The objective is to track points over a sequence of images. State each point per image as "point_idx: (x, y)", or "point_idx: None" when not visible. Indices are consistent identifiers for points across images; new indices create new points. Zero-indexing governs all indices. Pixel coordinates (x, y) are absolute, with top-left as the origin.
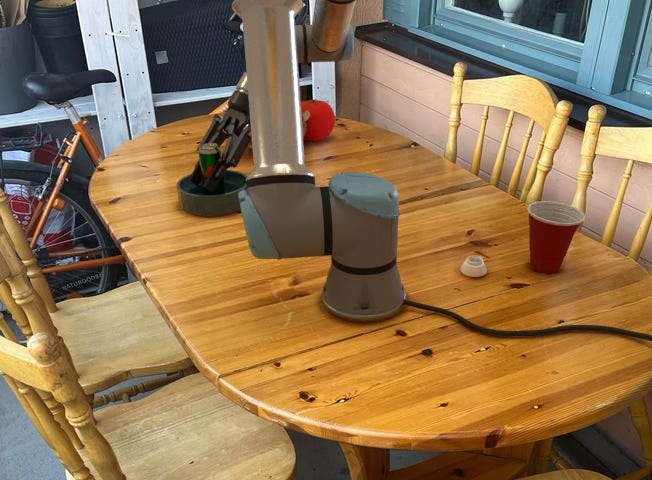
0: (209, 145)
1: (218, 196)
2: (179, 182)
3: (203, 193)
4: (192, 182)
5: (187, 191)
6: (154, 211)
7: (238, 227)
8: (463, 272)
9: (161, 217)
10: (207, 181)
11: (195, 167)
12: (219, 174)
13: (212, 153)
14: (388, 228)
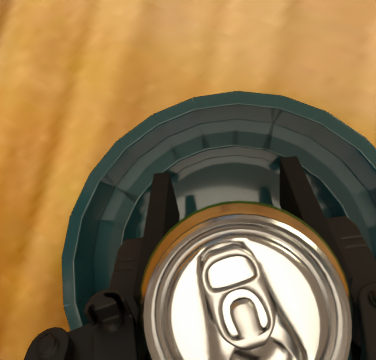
0: (256, 333)
1: (79, 197)
2: (344, 135)
3: None
4: (280, 173)
5: (313, 170)
6: (312, 48)
7: (11, 206)
8: None
9: (247, 47)
10: (155, 193)
11: (316, 205)
12: (118, 260)
13: (143, 278)
14: None
